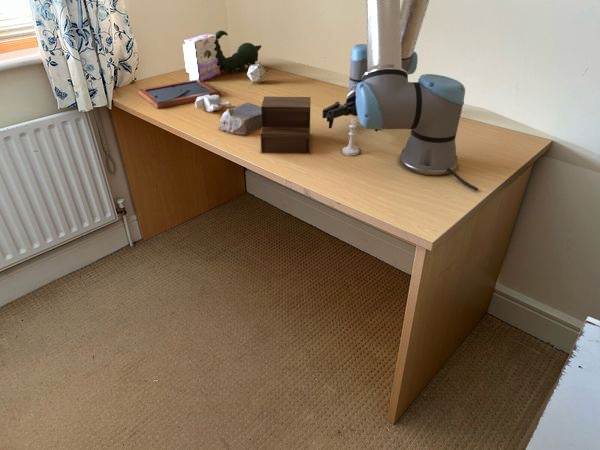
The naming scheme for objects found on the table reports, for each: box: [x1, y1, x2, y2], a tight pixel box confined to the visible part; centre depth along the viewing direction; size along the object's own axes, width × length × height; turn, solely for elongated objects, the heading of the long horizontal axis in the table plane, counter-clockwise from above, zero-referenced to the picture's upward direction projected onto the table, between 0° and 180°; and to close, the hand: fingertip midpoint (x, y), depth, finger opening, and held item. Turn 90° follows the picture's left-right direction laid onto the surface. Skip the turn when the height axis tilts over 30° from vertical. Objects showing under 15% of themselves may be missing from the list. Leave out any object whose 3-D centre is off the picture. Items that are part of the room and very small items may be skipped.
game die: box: [244, 61, 269, 85], centre depth 180 cm, size 9×8×10 cm
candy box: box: [183, 33, 221, 82], centre depth 183 cm, size 14×6×16 cm, turn 149°
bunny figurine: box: [194, 95, 232, 113], centre depth 153 cm, size 10×5×15 cm
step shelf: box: [259, 96, 311, 155], centre depth 128 cm, size 14×14×12 cm
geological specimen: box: [218, 102, 262, 136], centre depth 141 cm, size 11×6×15 cm
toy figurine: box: [214, 30, 262, 74], centre depth 192 cm, size 9×19×25 cm
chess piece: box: [341, 118, 360, 156], centre depth 124 cm, size 5×5×10 cm
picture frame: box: [138, 79, 221, 109], centre depth 168 cm, size 20×2×25 cm
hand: (353, 125), depth 127 cm, fingers open, 13 cm apart
